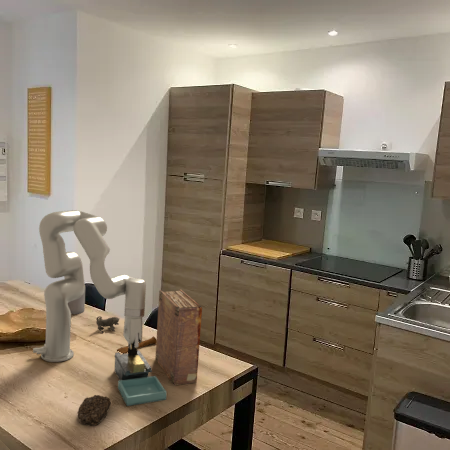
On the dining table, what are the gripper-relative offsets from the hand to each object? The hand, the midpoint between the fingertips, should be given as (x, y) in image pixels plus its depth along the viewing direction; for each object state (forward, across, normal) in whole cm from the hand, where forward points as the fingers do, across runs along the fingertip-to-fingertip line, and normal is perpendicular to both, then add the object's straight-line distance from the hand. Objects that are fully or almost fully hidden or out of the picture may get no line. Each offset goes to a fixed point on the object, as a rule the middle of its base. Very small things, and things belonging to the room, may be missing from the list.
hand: (132, 357), depth 180 cm
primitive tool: (+8, -26, +10) cm, 29 cm away
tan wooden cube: (+1, +4, 0) cm, 4 cm away
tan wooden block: (+1, +8, 0) cm, 8 cm away
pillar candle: (+8, -82, -8) cm, 83 cm away
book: (+8, 0, +18) cm, 19 cm away
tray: (+8, +15, 0) cm, 17 cm away
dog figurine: (+8, -51, +2) cm, 52 cm away
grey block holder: (+7, +1, 0) cm, 7 cm away
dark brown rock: (+8, +24, -19) cm, 31 cm away
